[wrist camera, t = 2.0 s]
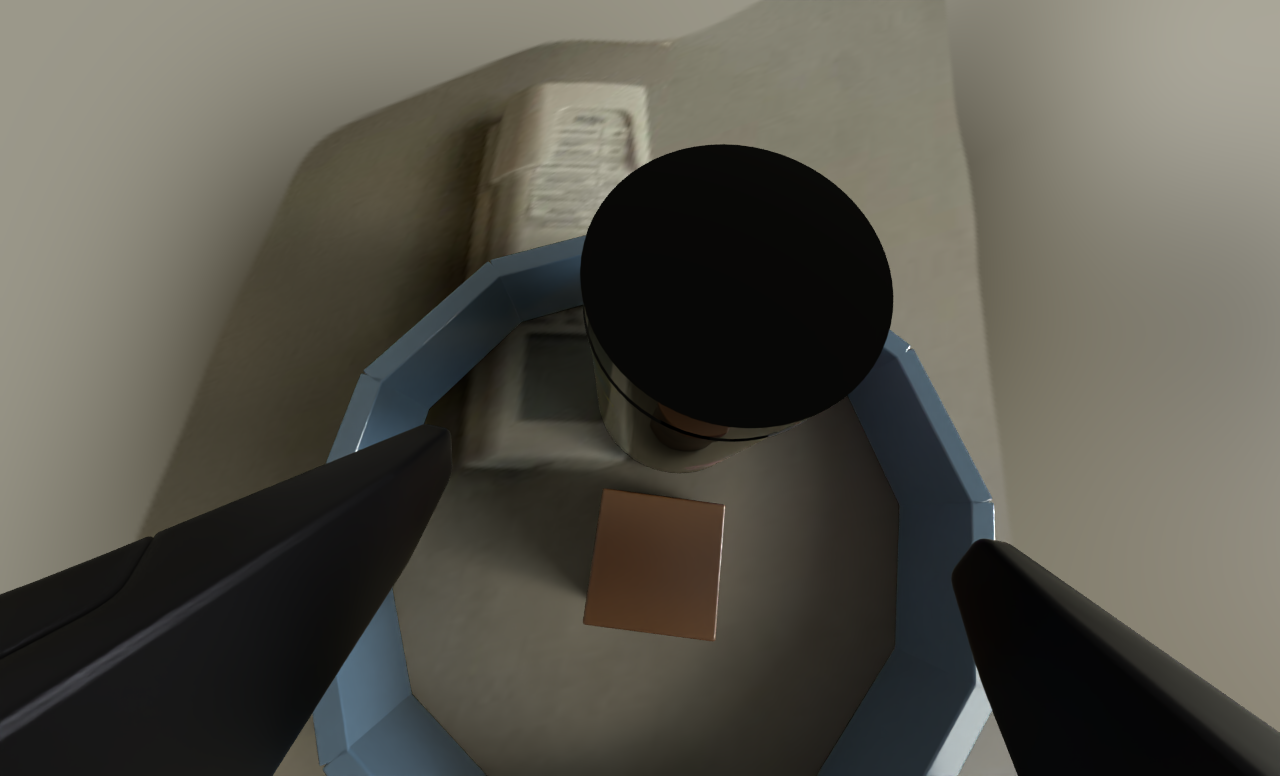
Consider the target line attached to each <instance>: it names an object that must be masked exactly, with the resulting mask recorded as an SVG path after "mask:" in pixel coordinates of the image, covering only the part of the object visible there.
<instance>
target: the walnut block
mask: <svg viewBox="0 0 1280 776" xmlns="http://www.w3.org/2000/svg"><path fill="white" fill-rule="evenodd" d="M724 517H725V505H723V504H717V503H710V502H702V501H695V500H688V499H680V498H673V497H665V496H658V495H651V494H643V493H636V492H629V491H621V490H614V489H607V488H604V489H603V490H602V497H601V504H600V510H599V517H598V524H597V531H596V537H595V544H594V551H593V557H592V564H591V571H590V577H589V584H588V591H587V597H586V604H585V611H584V617H583V624H585V625H592V626H600V627H607V628H615V629H623V630H630V631H638V632H645V633H653V634H661V635H668V636H676V637H683V638H691V639H699V640H706V641H715V638H716V625H717V611H718V598H719V584H720V571H721V557H722V544H723V530H724Z"/></svg>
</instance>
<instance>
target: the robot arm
mask: <svg viewBox="0 0 1280 776" xmlns="http://www.w3.org/2000/svg"><path fill="white" fill-rule="evenodd" d="M451 472H452V450H451V434H450V432H449V430H448V429H446V428H443V427H438V426H433V425H428V424H424V425H420V426H418V427H415V428H413V429H410V430H408V431H405V432H403V433H400V434H398V435H396V436H393V437H391V438H388V439H386V440H383V441H381V442H378V443H376V444H374V445H371V446H369V447H366V448H364V449H361V450H359V451H356V452H354V453H351V454H349V455H347V456H344V457H342V458H339V459H337V460H334V461H332V462H329V463H327V464H325V465H322V466H320V467H317V468H315V469H312V470H310V471H307V472H305V473H303V474H300V475H298V476H295V477H293V478H290V479H288V480H285V481H283V482H281V483H278V484H276V485H273V486H271V487H268V488H266V489H263V490H261V491H258V492H256V493H254V494H251V495H249V496H246V497H244V498H241V499H239V500H236V501H234V502H231V503H229V504H227V505H224V506H222V507H219V508H217V509H214V510H212V511H209V512H207V513H205V514H202V515H200V516H197V517H195V518H192V519H190V520H187V521H185V522H182V523H180V524H178V525H175V526H173V527H170V528H168V529H165V530H163V531H160V532H158V533H157V534H156V535H155V536H154V538H153V537H145V538H143V539H140V540H138V541H136V542H133V543H131V544H128V545H126V546H123V547H121V548H118V549H116V550H114V551H111V552H109V553H106V554H104V555H101V556H99V557H96V558H94V559H91V560H89V561H86V562H84V563H81V564H78V565H76V566H73V567H71V568H68V569H66V570H63V571H61V572H58V573H56V574H53V575H50V576H48V577H45V578H43V579H40V580H38V581H35V582H33V583H30V584H27V585H25V586H22V587H19V588H16V589H14V590H11V591H8V592H6V593H3V594H1V595H0V776H273V774H274V773H275V771H276V769H277V768H278V766H279V765H280V763H281V762H282V760H283V758H284V757H285V755H286V754H287V752H288V751H289V749H290V747H291V746H292V744H293V743H294V741H295V740H296V738H297V736H298V735H299V733H300V732H301V730H302V729H303V727H304V725H305V724H306V722H307V721H308V719H309V718H310V716H311V714H312V713H313V711H314V710H315V708H316V707H317V705H318V703H319V702H320V700H321V699H322V697H323V696H324V694H325V692H326V691H327V689H328V688H329V686H330V685H331V683H332V681H333V680H334V678H335V677H336V675H337V674H338V672H339V670H340V669H341V667H342V666H343V664H344V663H345V661H346V659H347V658H348V656H349V655H350V653H351V652H352V650H353V648H354V647H355V645H356V644H357V642H358V641H359V639H360V637H361V636H362V634H363V633H364V631H365V630H366V628H367V626H368V625H369V623H370V622H371V620H372V619H373V617H374V615H375V614H376V612H377V611H378V609H379V608H380V606H381V604H382V603H383V601H384V600H385V598H386V597H387V595H388V593H389V592H390V590H391V589H392V587H393V586H394V584H395V582H396V581H397V579H398V578H399V576H400V575H401V573H402V571H403V570H404V568H405V566H406V565H407V563H408V561H409V559H410V558H411V556H412V554H413V552H414V550H415V548H416V546H417V544H418V542H419V540H420V538H421V536H422V534H423V532H424V530H425V528H426V526H427V524H428V522H429V520H430V518H431V516H432V514H433V512H434V510H435V508H436V506H437V504H438V502H439V499H440V497H441V495H442V493H443V491H444V489H445V487H446V485H447V483H448V481H449V479H450V476H451ZM951 582H952V587H953V590H954V594H955V597H956V600H957V604H958V607H959V610H960V614H961V617H962V621H963V624H964V627H965V631H966V634H967V638H968V641H969V644H970V648H971V651H972V655H973V658H974V661H975V665H976V668H977V671H978V674H979V677H980V680H981V683H982V685H983V688H984V691H985V693H986V696H987V699H988V701H989V704H990V706H991V709H992V711H993V714H994V716H995V719H996V721H997V724H998V726H999V729H1000V731H1001V734H1002V737H1003V739H1004V742H1005V744H1006V747H1007V749H1008V752H1009V754H1010V757H1011V759H1012V762H1013V764H1014V767H1015V769H1016V772H1017V775H1018V776H1280V732H1278V731H1277V730H1275V729H1274V728H1272V727H1271V726H1269V725H1268V724H1267V723H1265V722H1264V721H1262V720H1261V719H1259V718H1258V717H1257V716H1255V715H1254V714H1252V713H1251V712H1249V711H1248V710H1247V709H1245V708H1244V707H1242V706H1241V705H1239V704H1238V703H1237V702H1235V701H1234V700H1232V699H1231V698H1229V697H1228V696H1227V695H1225V694H1224V693H1222V692H1221V691H1219V690H1218V689H1217V688H1215V687H1214V686H1212V685H1211V684H1209V683H1208V682H1207V681H1205V680H1204V679H1202V678H1201V677H1199V676H1198V675H1197V674H1195V673H1194V672H1192V671H1191V670H1189V669H1188V668H1186V667H1185V666H1184V665H1182V664H1181V663H1179V662H1178V661H1177V660H1175V659H1174V658H1172V657H1171V656H1169V655H1168V654H1167V653H1165V652H1164V651H1162V650H1161V649H1159V648H1158V647H1156V646H1155V645H1154V644H1152V643H1151V642H1149V641H1148V640H1146V639H1145V638H1144V637H1142V636H1141V635H1139V634H1138V633H1136V632H1135V631H1134V630H1132V629H1131V628H1129V627H1128V626H1126V625H1125V624H1124V623H1122V622H1121V621H1119V620H1118V619H1116V618H1115V617H1114V616H1112V615H1111V614H1109V613H1108V612H1106V611H1105V610H1104V609H1102V608H1101V607H1099V606H1098V605H1096V604H1095V603H1093V602H1092V601H1091V600H1089V599H1088V598H1086V597H1085V596H1083V595H1082V594H1081V593H1079V592H1078V591H1076V590H1075V589H1074V588H1072V587H1071V586H1069V585H1068V584H1066V583H1065V582H1064V581H1062V580H1061V579H1059V578H1058V577H1056V576H1055V575H1053V574H1052V573H1051V572H1049V571H1048V570H1046V569H1045V568H1044V567H1042V566H1041V565H1039V564H1038V563H1036V562H1035V561H1033V560H1032V559H1031V558H1029V557H1028V556H1026V555H1025V554H1023V553H1022V552H1021V551H1019V550H1018V549H1016V548H1015V547H1013V546H1012V545H1010V544H1008V543H1005V542H1001V541H996V540H991V539H985V538H983V539H979V540H977V541H975V542H974V543H973V544H972V545H971V547H970V548H969V549H968V551H967V552H966V553H965V555H964V556H963V557H962V558H961V560H960V561H959V562H958V564H957V565H956V566H955V567H954V569H953V572H952V576H951Z"/></svg>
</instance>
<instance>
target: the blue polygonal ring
mask: <svg viewBox="0 0 1280 776" xmlns="http://www.w3.org/2000/svg"><path fill="white" fill-rule="evenodd" d="M585 238H586V235H584V236H581V237H577V238H573V239H569V240H565V241H561V242H557V243H554V244H550V245H546V246H542V247H538V248H534V249H531V250H527V251H523V252H519V253H515V254H511V255H508V256H504V257H500V258H496V259H492V260H491V263H489V262H486V263H485V264H484V265H483V266H482V267H481V268H480V269H479V270H477V271H476V272H475V273H474V274H473V275H472V276H471V277H469V278H468V279H467V280H466V281H465V282H464V283H463V284H461V285H460V286H459V287H458V288H457V289H456V290H455V291H453V292H452V293H451V294H450V295H449V296H448V297H447V298H445V299H444V300H443V301H442V302H441V303H440V304H439V305H437V306H436V307H435V308H434V309H433V310H432V311H431V312H429V313H428V314H427V315H426V316H425V317H424V318H423V319H421V320H420V321H419V322H418V323H417V324H416V325H415V326H413V327H412V328H411V329H410V330H409V331H408V332H407V333H405V334H404V335H403V336H402V337H401V338H400V339H399V340H397V341H396V342H395V343H394V344H393V345H392V346H391V347H389V348H388V349H387V350H386V351H385V352H384V353H383V354H382V355H380V356H379V357H378V358H377V359H376V360H375V361H374V362H372V363H371V364H370V365H369V366H368V367H367V368H366V369H364V373H365V374H361V375H360V377H359V380H358V382H357V385H356V387H355V390H354V392H353V395H352V397H351V400H350V403H349V405H348V408H347V410H346V413H345V415H344V418H343V420H342V423H341V425H340V428H339V431H338V433H337V436H336V438H335V441H334V443H333V446H332V448H331V451H330V453H329V456H328V459H327V461H326V464H327V463H329V462H332V461H334V460H337V459H339V458H342V457H344V456H347V455H349V454H351V453H354V452H356V451H359V450H361V449H364V448H366V447H369V446H371V445H374V444H376V443H378V442H381V441H383V440H386V439H388V438H391V437H393V436H396V435H398V434H400V433H403V432H405V431H408V430H410V429H413V428H415V427H418V426H420V425H424V422H425V419H426V417H427V414H428V411H429V409H430V408H431V407H432V406H433V405H434V404H435V403H436V402H437V401H438V400H439V399H440V398H441V397H442V396H443V395H444V394H446V393H447V392H448V391H449V390H450V389H451V388H452V387H453V386H454V385H455V384H456V383H457V382H458V381H459V380H460V379H461V378H463V377H464V376H465V375H466V374H467V373H468V372H469V371H470V370H471V369H472V368H473V367H474V366H475V365H476V364H477V363H478V362H479V361H481V360H482V359H483V358H484V357H485V356H486V355H487V354H488V353H489V352H490V351H491V350H492V349H493V348H494V347H495V346H496V345H498V344H499V343H500V342H501V341H502V340H503V339H504V338H505V337H506V336H507V335H508V334H509V333H510V332H511V331H512V330H513V329H514V328H516V327H517V326H518V325H519V324H520V323H521V322H523V321H527V320H530V319H534V318H537V317H541V316H544V315H548V314H551V313H555V312H558V311H562V310H566V309H569V308H573V307H576V306H580V305H583V299H582V292H581V283H580V265H581V255H582V250H583V245H584V241H585ZM909 348H910V345H909V344H908V343H907V342H905V341H904V340H903V339H901V338H900V337H899V336H898V335H896V334H895V333H894V332H892V331H891V330H890V329H889V333H888V337H887V340H886V342H885V345H884V347H883V350H882V352H881V354H880V356H879V358H878V359H877V361H876V363H875V365H874V366H873V368H872V369H871V371H870V372H869V373H868V375H867V376H866V377H865V379H864V380H863V381H862V382H861V383H860V384H859V385H858V386H857V387H856V388H855V389H854V390H853V391H852V392H851V393H850V394H848V395H847V396H848V398H849V400H850V402H851V404H852V406H853V408H854V410H855V413H856V415H857V417H858V419H859V421H860V423H861V425H862V427H863V429H864V432H865V434H866V436H867V438H868V440H869V442H870V444H871V446H872V448H873V451H874V453H875V455H876V457H877V459H878V461H879V463H880V465H881V467H882V470H883V472H884V474H885V476H886V478H887V480H888V482H889V484H890V487H891V489H892V491H893V493H894V495H895V497H896V499H897V501H898V503H899V534H898V566H897V597H896V629H895V648H894V650H893V651H892V653H891V655H890V656H889V658H888V660H887V661H886V663H885V665H884V666H883V668H882V669H881V671H880V673H879V674H878V676H877V678H876V679H875V681H874V683H873V684H872V686H871V687H870V689H869V691H868V692H867V694H866V696H865V697H864V699H863V701H862V702H861V704H860V705H859V707H858V709H857V710H856V712H855V714H854V715H853V717H852V719H851V720H850V722H849V723H848V725H847V727H846V728H845V730H844V732H843V733H842V735H841V737H840V738H839V740H838V741H837V743H836V745H835V746H834V748H833V750H832V751H831V753H830V755H829V756H828V758H827V759H826V761H825V763H824V764H823V766H822V768H821V769H820V771H819V773H818V774H817V776H958V774H959V772H960V771H961V769H962V767H963V765H964V763H965V761H966V759H967V757H968V755H969V754H970V752H971V750H972V748H973V746H974V744H975V742H976V740H977V738H978V737H979V735H980V733H981V731H982V729H983V727H984V725H985V723H986V721H987V720H988V718H989V716H990V714H991V712H992V709H991V706H990V704H989V701H988V699H987V696H986V693H985V691H984V688H983V685H982V683H981V680H980V677H979V674H978V671H977V668H976V665H975V661H974V658H973V655H972V651H971V648H970V644H969V641H968V638H967V634H966V631H965V627H964V624H963V621H962V617H961V614H960V610H959V607H958V604H957V600H956V597H955V594H954V590H953V587H952V582H951V576H952V572H953V569H954V567H955V566H956V565H957V564H958V562H959V561H960V560H961V558H962V557H963V556H964V555H965V553H966V552H967V551H968V549H969V548H970V547H971V545H972V544H973V543H974V542H975V541H977V540H979V539H983V538H985V539H991V540H995V520H994V503H992V502H989V501H991V500H992V497H991V495H990V493H989V491H988V489H987V487H986V485H985V484H984V482H983V480H982V478H981V476H980V474H979V472H978V470H977V468H976V466H975V465H974V463H973V461H972V459H971V457H970V455H969V453H968V451H967V449H966V447H965V446H964V444H963V442H962V440H961V438H960V436H959V434H958V432H957V430H956V428H955V427H954V425H953V423H952V421H951V419H950V417H949V415H948V413H947V411H946V409H945V408H944V406H943V404H942V402H941V400H940V398H939V396H938V394H937V392H936V390H935V389H934V387H933V385H932V383H931V381H930V379H929V377H928V375H927V373H926V371H925V370H924V368H923V366H922V364H921V362H920V360H919V358H918V356H917V354H916V352H915V351H914V349H909ZM312 714H313V721H314V729H315V736H316V744H317V751H318V759H319V765H324V764H326V765H325V766H324V768H323V772H324V773H325V774H326V775H327V776H487V775H486V774H485V773H484V772H483V771H482V770H481V769H480V768H479V766H478V765H477V764H476V763H475V762H474V761H473V760H472V759H471V758H470V757H469V756H468V754H467V753H466V752H465V751H464V750H463V749H462V748H461V747H460V746H459V745H458V744H457V743H456V741H455V740H454V739H453V738H452V737H451V736H450V735H449V734H448V733H447V732H446V731H445V729H444V728H443V727H442V726H441V725H440V724H439V723H438V722H437V721H436V720H435V719H434V717H433V716H432V715H431V714H430V713H429V712H428V711H427V710H426V709H425V708H424V707H423V706H422V704H421V703H420V702H419V701H418V700H417V699H416V698H415V697H414V696H413V695H412V692H411V687H410V681H409V676H408V671H407V665H406V660H405V654H404V649H403V644H402V638H401V633H400V627H399V622H398V617H397V611H396V606H395V600H394V595H393V589H391V590H390V592H389V593H388V595H387V597H386V598H385V600H384V601H383V603H382V604H381V606H380V608H379V609H378V611H377V612H376V614H375V615H374V617H373V619H372V620H371V622H370V623H369V625H368V626H367V628H366V630H365V631H364V633H363V634H362V636H361V637H360V639H359V641H358V642H357V644H356V645H355V647H354V648H353V650H352V652H351V653H350V655H349V656H348V658H347V659H346V661H345V663H344V664H343V666H342V667H341V669H340V670H339V672H338V674H337V675H336V677H335V678H334V680H333V681H332V683H331V685H330V686H329V688H328V689H327V691H326V692H325V694H324V696H323V697H322V699H321V700H320V702H319V703H318V705H317V707H316V708H315V710H314V711H313V713H312Z"/></svg>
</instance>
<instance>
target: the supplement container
mask: <svg viewBox="0 0 1280 776" xmlns="http://www.w3.org/2000/svg"><path fill="white" fill-rule="evenodd" d="M580 283H581V292H582V299H583V313H584V322H585V328H586V334H587V337H588V341H589V345H590V347H591V353H592V360H593V367H594V374H595V382H596V389H597V396H598V403H599V409H600V413H601V417H602V420H603V422H604V425H605V427H606V429H607V431H608V433H609V434H610V436H611V437H612V439H613V440H614V441H615V443H616V444H617V445H618V446H619V447H620V448H621V449H622V450H623V451H624V452H625V453H626V454H627V455H629V456H630V457H631V458H633V459H634V460H636V461H637V462H639V463H641V464H643V465H645V466H647V467H650V468H652V469H656V470H659V471H664V472H669V473H689V472H696V471H699V470H703V469H706V468H709V467H711V466H713V465H715V464H717V463H719V462H721V461H723V460H725V459H727V458H729V457H731V456H733V455H735V454H737V453H739V452H741V451H743V450H745V449H747V448H749V447H751V446H752V445H754V444H756V443H758V442H760V441H762V440H764V439H766V438H769V437H773V436H775V435H778V434H781V433H783V432H786V431H788V430H790V429H792V428H794V427H796V426H798V425H800V424H802V423H803V422H805V421H806V420H808V419H809V418H811V417H813V416H815V415H817V414H819V413H821V412H823V411H825V410H827V409H829V408H830V407H832V406H833V405H835V404H836V403H838V402H839V401H841V400H842V399H844V398H845V397H846V396H847V395H848V394H850V393H851V392H852V391H853V390H854V389H855V388H856V387H857V386H858V385H859V384H860V383H861V382H862V381H863V380H864V379H865V377H866V376H867V375H868V373H869V372H870V371H871V369H872V368H873V366H874V365H875V363H876V361H877V359H878V358H879V356H880V354H881V352H882V350H883V347H884V345H885V342H886V340H887V337H888V333H889V329H890V326H891V319H892V313H893V287H892V279H891V273H890V268H889V265H888V261H887V258H886V255H885V252H884V250H883V247H882V245H881V243H880V240H879V238H878V236H877V235H876V233H875V231H874V229H873V227H872V226H871V224H870V223H869V221H868V220H867V218H866V217H865V215H864V214H863V213H862V212H861V210H860V209H859V208H858V207H857V205H856V204H855V203H854V202H853V201H852V200H851V199H850V198H849V197H848V196H847V195H846V194H845V193H844V192H843V191H842V190H841V189H840V188H838V187H837V186H836V185H835V184H834V183H832V182H831V181H830V180H828V179H827V178H826V177H824V176H823V175H821V174H820V173H818V172H816V171H815V170H813V169H811V168H810V167H808V166H806V165H804V164H802V163H800V162H798V161H796V160H794V159H791V158H789V157H786V156H784V155H781V154H778V153H775V152H771V151H768V150H764V149H759V148H755V147H748V146H741V145H725V144H722V145H705V146H697V147H691V148H686V149H682V150H678V151H675V152H672V153H669V154H666V155H664V156H661V157H659V158H656V159H654V160H652V161H650V162H648V163H647V164H645V165H643V166H641V167H640V168H638V169H637V170H635V171H634V172H632V173H631V174H630V175H628V176H627V177H626V178H625V179H624V180H622V181H621V182H620V183H619V184H618V185H617V186H616V187H615V188H614V189H613V190H612V191H611V192H610V193H609V195H608V196H607V197H606V199H605V200H604V201H603V203H602V204H601V205H600V207H599V209H598V210H597V212H596V214H595V215H594V217H593V220H592V222H591V224H590V226H589V228H588V231H587V234H586V238H585V241H584V245H583V250H582V255H581V265H580Z"/></svg>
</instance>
